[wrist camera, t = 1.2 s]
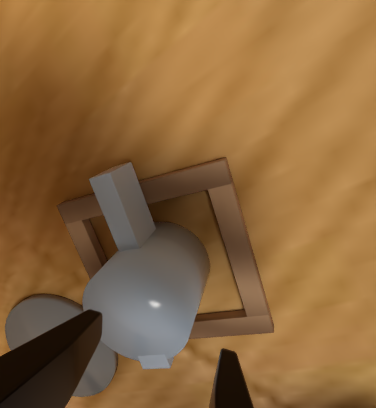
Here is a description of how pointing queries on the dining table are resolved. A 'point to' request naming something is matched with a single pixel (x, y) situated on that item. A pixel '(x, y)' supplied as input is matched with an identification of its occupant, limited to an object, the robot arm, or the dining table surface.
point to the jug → (145, 275)
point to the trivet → (51, 317)
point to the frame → (230, 229)
